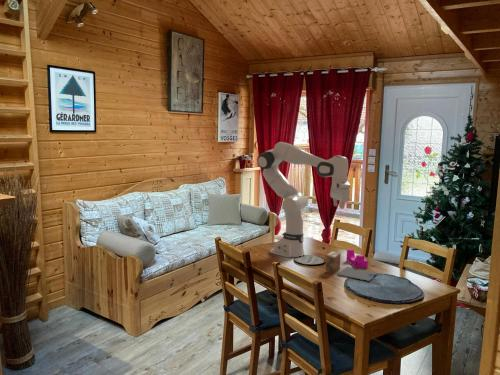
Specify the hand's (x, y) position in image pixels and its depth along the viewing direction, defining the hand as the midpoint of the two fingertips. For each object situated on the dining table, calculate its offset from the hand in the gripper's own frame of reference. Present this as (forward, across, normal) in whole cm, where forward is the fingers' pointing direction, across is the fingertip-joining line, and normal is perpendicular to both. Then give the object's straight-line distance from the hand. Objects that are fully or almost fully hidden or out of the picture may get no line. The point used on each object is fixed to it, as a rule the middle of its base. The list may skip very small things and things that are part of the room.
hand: (338, 207), depth 239 cm
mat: (+36, +14, +7) cm, 39 cm away
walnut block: (+36, +6, -4) cm, 37 cm away
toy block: (+36, -4, +15) cm, 39 cm away
